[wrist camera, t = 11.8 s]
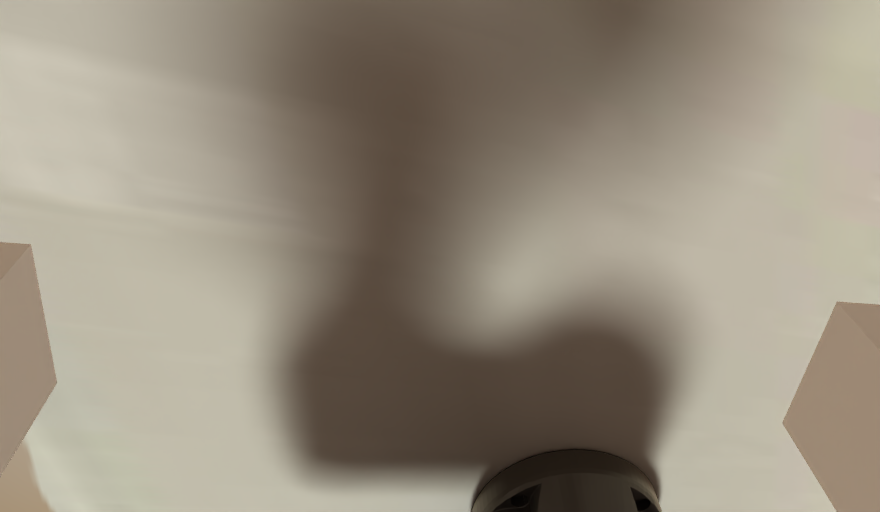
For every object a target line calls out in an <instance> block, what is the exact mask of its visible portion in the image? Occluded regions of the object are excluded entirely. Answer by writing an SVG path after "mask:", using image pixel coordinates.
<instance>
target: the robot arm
mask: <svg viewBox="0 0 880 512" xmlns="http://www.w3.org/2000/svg"><path fill="white" fill-rule="evenodd" d="M56 384H57V380H56V375H55V369H54V364H53V359H52V353H51V348H50V343H49V338H48V332H47V327H46V322H45V316H44V311H43V306H42V301H41V295H40V290H39V285H38V279H37V274H36V269H35V263H34V258H33V253H32V248H31V244H17V243H3V242H0V477H1V475H2V473H3V472H4V470H5V468H6V467H7V465H8V463H9V462H10V460H11V458H12V457H13V455H14V453H15V451H16V450H17V448H18V447H19V445H20V444H21V442H22V440H23V439H24V437H25V435H26V434H27V432H28V430H29V429H30V427H31V425H32V424H33V422H34V420H35V419H36V417H37V415H38V414H39V412H40V410H41V409H42V407H43V405H44V404H45V402H46V400H47V399H48V397H49V395H50V394H51V392H52V390H53V389H54V387H55V385H56ZM783 425H784V426H785V428H786V430H787V431H788V433H789V435H790V436H791V438H792V439H793V441H794V443H795V444H796V446H797V448H798V449H799V451H800V452H801V454H802V456H803V457H804V459H805V461H806V462H807V464H808V466H809V467H810V469H811V470H812V472H813V474H814V475H815V477H816V479H817V480H818V482H819V483H820V485H821V487H822V488H823V490H824V492H825V493H826V495H827V496H828V498H829V500H830V501H831V503H832V505H833V506H834V508H835V509H836V511H837V512H880V305H876V304H862V303H848V302H837V303H836V305H835V307H834V309H833V312H832V314H831V316H830V318H829V321H828V323H827V325H826V327H825V329H824V332H823V334H822V336H821V338H820V341H819V343H818V345H817V347H816V349H815V352H814V354H813V356H812V358H811V361H810V363H809V365H808V367H807V369H806V372H805V374H804V376H803V378H802V380H801V383H800V385H799V387H798V389H797V392H796V394H795V396H794V398H793V400H792V403H791V405H790V407H789V409H788V412H787V414H786V416H785V418H784V420H783ZM472 512H662V510H661V507H660V505H659V502H658V499H657V496H656V493H655V491H654V488H653V486H652V484H651V482H650V481H649V479H648V478H647V477H646V476H645V475H644V474H643V473H642V472H641V471H640V470H639V469H638V468H637V467H635V466H634V465H632V464H631V463H629V462H627V461H625V460H623V459H621V458H618V457H616V456H613V455H610V454H606V453H602V452H596V451H588V450H565V451H556V452H550V453H545V454H541V455H537V456H534V457H531V458H528V459H526V460H523V461H521V462H519V463H516V464H515V465H513V466H511V467H509V468H507V469H506V470H504V471H503V472H501V473H500V474H498V475H497V476H496V477H495V478H493V479H492V480H491V481H490V482H489V483H488V484H487V485H486V486H485V487H484V489H483V490H482V491H481V493H480V494H479V496H478V497H477V499H476V501H475V503H474V506H473V509H472Z"/></svg>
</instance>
